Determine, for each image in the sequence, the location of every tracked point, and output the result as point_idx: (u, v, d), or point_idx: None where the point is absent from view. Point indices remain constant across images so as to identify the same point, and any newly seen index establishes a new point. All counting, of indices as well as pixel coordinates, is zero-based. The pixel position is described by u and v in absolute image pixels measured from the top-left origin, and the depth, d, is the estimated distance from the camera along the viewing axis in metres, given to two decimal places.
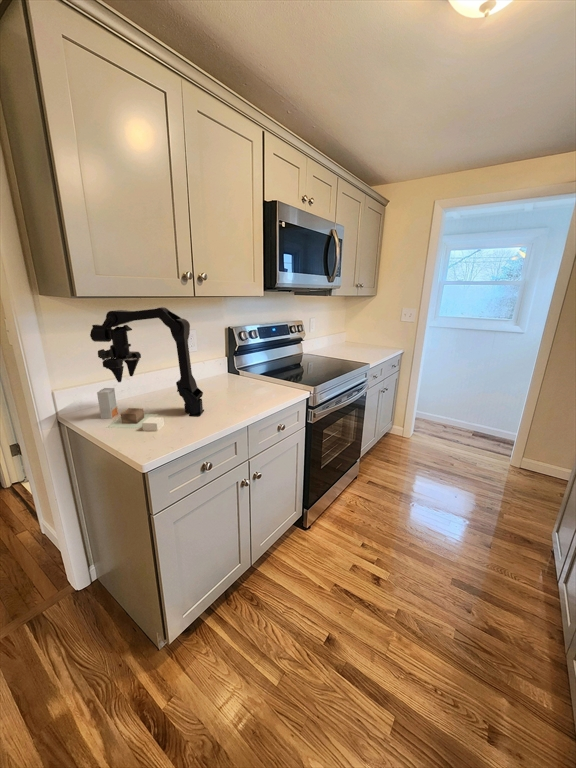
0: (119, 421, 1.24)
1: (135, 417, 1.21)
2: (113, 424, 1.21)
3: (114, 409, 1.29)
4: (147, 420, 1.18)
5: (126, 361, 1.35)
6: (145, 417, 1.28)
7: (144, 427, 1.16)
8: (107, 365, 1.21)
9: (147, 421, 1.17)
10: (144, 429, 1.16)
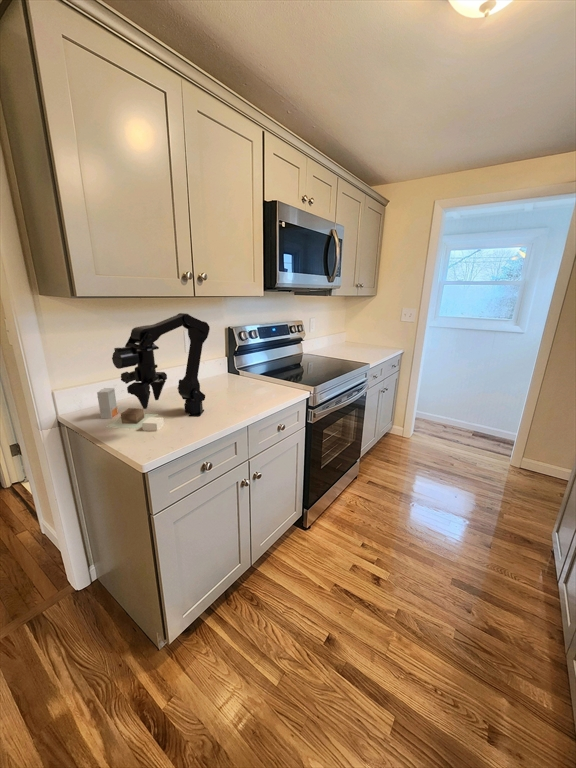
0: (119, 421, 1.24)
1: (135, 417, 1.21)
2: (113, 424, 1.21)
3: (114, 409, 1.29)
4: (147, 420, 1.18)
5: (151, 383, 1.20)
6: (145, 417, 1.28)
7: (144, 427, 1.16)
8: (133, 391, 1.05)
9: (147, 421, 1.17)
10: (144, 429, 1.16)
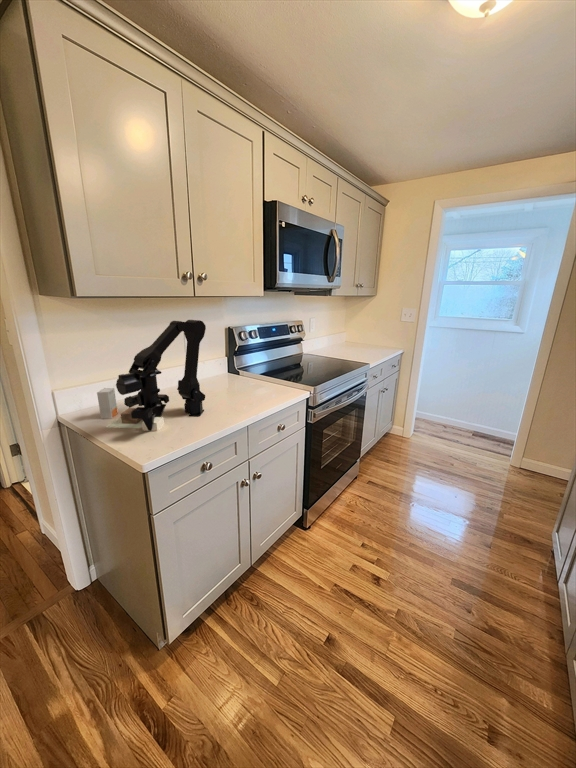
0: (119, 421, 1.24)
1: None
2: (113, 424, 1.21)
3: (114, 409, 1.29)
4: None
5: None
6: None
7: (144, 426, 1.16)
8: (136, 416, 1.08)
9: None
10: (144, 428, 1.16)
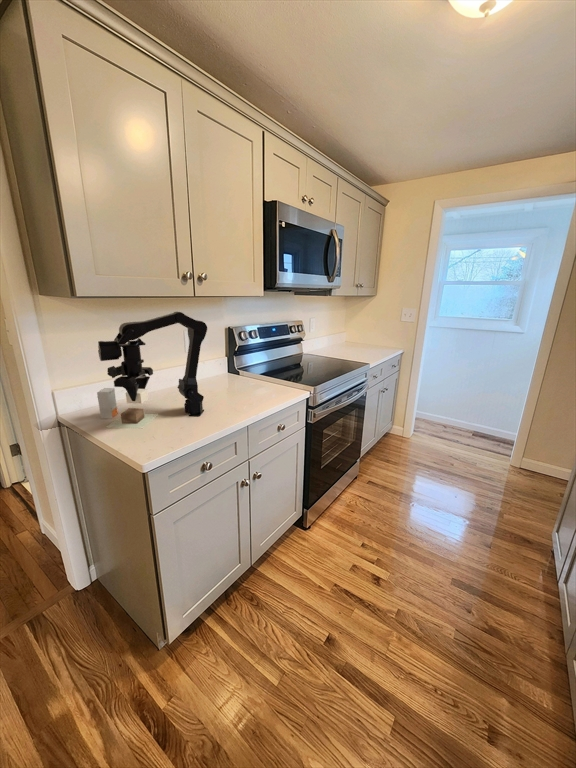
0: (119, 421, 1.24)
1: (135, 417, 1.21)
2: (113, 424, 1.21)
3: (114, 409, 1.29)
4: None
5: (135, 379, 1.21)
6: (145, 417, 1.28)
7: (127, 397, 1.17)
8: (119, 384, 1.08)
9: None
10: (127, 399, 1.17)
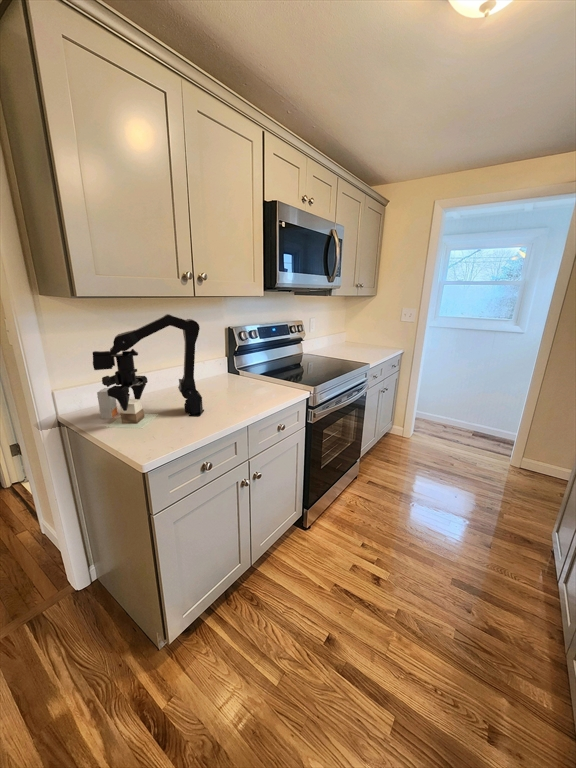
0: (119, 421, 1.24)
1: (135, 417, 1.21)
2: (113, 424, 1.21)
3: (114, 409, 1.29)
4: None
5: (132, 386, 1.27)
6: (145, 417, 1.28)
7: None
8: (112, 394, 1.12)
9: None
10: (122, 410, 1.21)
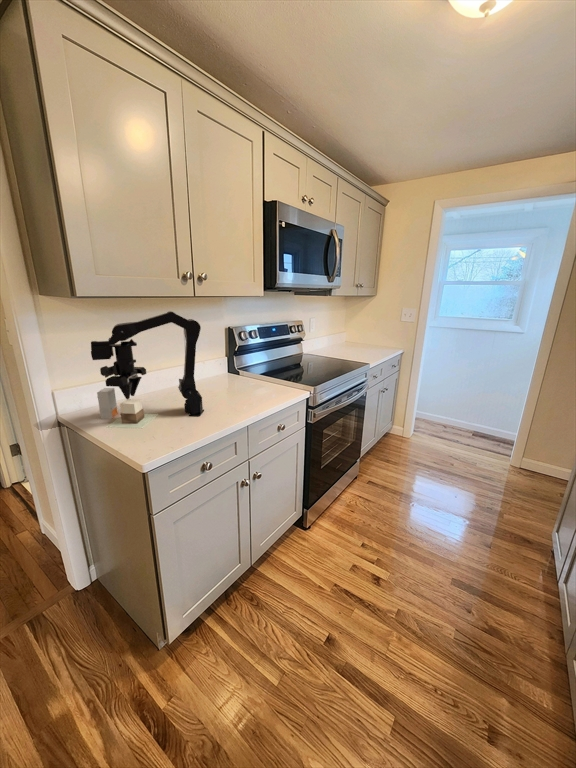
0: (119, 421, 1.24)
1: (135, 417, 1.21)
2: (113, 424, 1.21)
3: (114, 409, 1.29)
4: (125, 401, 1.23)
5: None
6: (145, 417, 1.28)
7: (122, 408, 1.21)
8: (110, 384, 1.11)
9: (125, 402, 1.22)
10: (122, 410, 1.21)
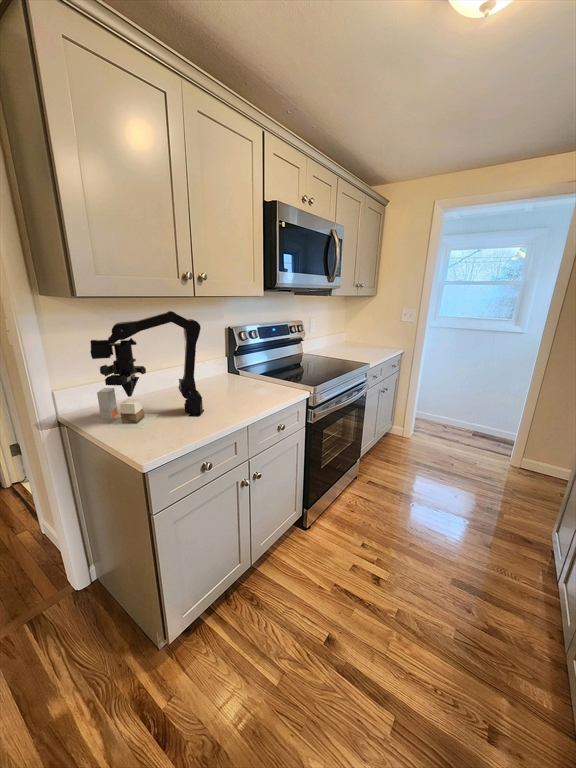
0: (119, 421, 1.24)
1: (135, 417, 1.21)
2: (113, 424, 1.21)
3: (114, 409, 1.29)
4: (125, 401, 1.23)
5: None
6: (145, 417, 1.28)
7: (122, 408, 1.21)
8: (110, 383, 1.11)
9: (125, 402, 1.22)
10: (122, 410, 1.21)
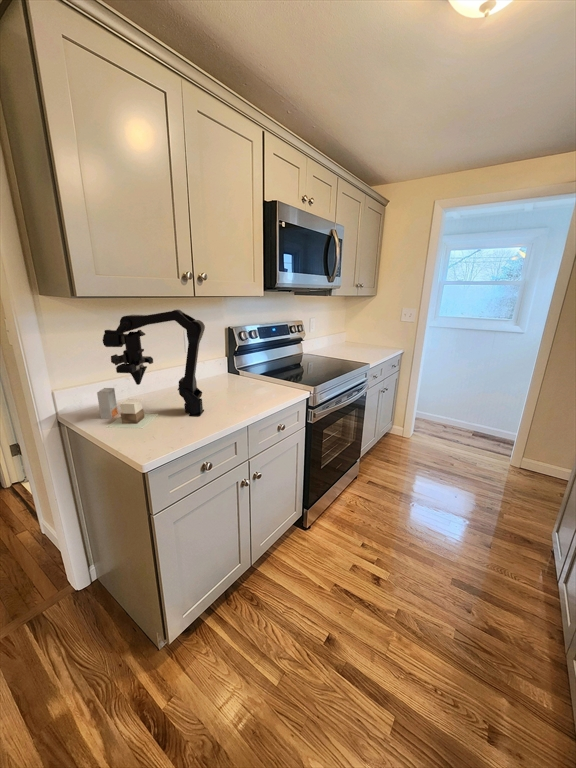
0: (119, 421, 1.24)
1: (135, 417, 1.21)
2: (113, 424, 1.21)
3: (114, 409, 1.29)
4: (125, 401, 1.23)
5: None
6: (145, 417, 1.28)
7: (122, 408, 1.21)
8: (121, 371, 1.19)
9: (125, 402, 1.22)
10: (122, 410, 1.21)
